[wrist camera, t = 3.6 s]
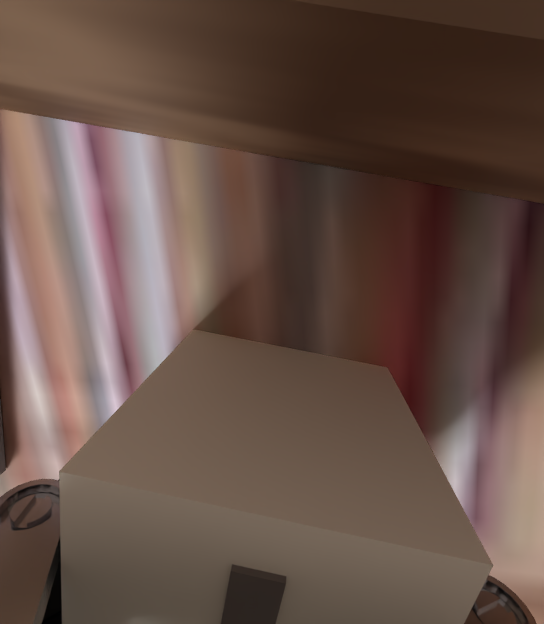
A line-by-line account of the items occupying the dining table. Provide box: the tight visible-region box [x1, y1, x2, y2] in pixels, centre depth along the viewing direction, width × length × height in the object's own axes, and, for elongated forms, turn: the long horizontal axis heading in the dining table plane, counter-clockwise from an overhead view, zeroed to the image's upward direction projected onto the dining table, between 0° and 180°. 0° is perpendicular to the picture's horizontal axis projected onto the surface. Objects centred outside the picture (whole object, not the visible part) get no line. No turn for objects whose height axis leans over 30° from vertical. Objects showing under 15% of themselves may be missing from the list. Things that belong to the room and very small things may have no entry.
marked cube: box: [59, 329, 493, 624], centre depth 8 cm, size 6×6×6 cm
